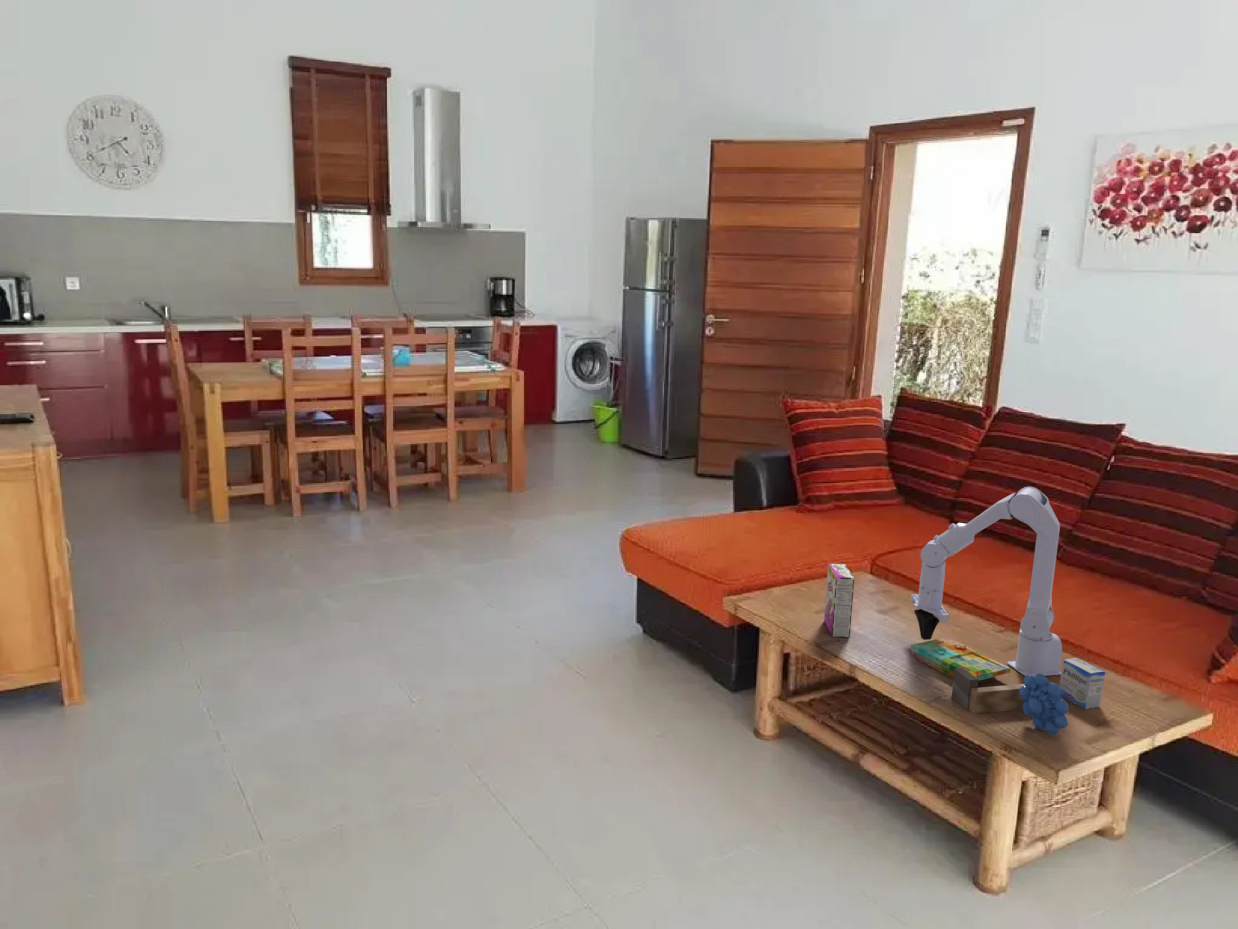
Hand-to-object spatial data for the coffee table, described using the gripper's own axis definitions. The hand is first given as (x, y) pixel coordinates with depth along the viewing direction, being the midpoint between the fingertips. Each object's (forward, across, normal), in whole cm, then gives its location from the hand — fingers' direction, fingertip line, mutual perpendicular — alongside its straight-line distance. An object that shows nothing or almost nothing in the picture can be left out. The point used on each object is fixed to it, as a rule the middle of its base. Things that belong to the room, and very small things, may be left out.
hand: (925, 638), depth 243 cm
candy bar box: (+2, -14, -18) cm, 23 cm away
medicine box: (+2, +34, +18) cm, 39 cm away
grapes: (+2, +44, 0) cm, 45 cm away
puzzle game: (+2, +14, 0) cm, 15 cm away
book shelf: (+2, +32, 0) cm, 32 cm away
